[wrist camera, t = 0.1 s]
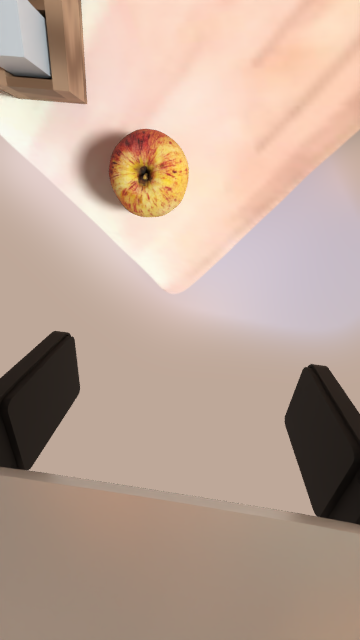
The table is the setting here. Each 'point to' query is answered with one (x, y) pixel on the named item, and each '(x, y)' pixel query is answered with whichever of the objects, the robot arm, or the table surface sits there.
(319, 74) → the table surface
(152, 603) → the robot arm
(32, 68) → the grey block
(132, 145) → the apple
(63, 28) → the frame block
